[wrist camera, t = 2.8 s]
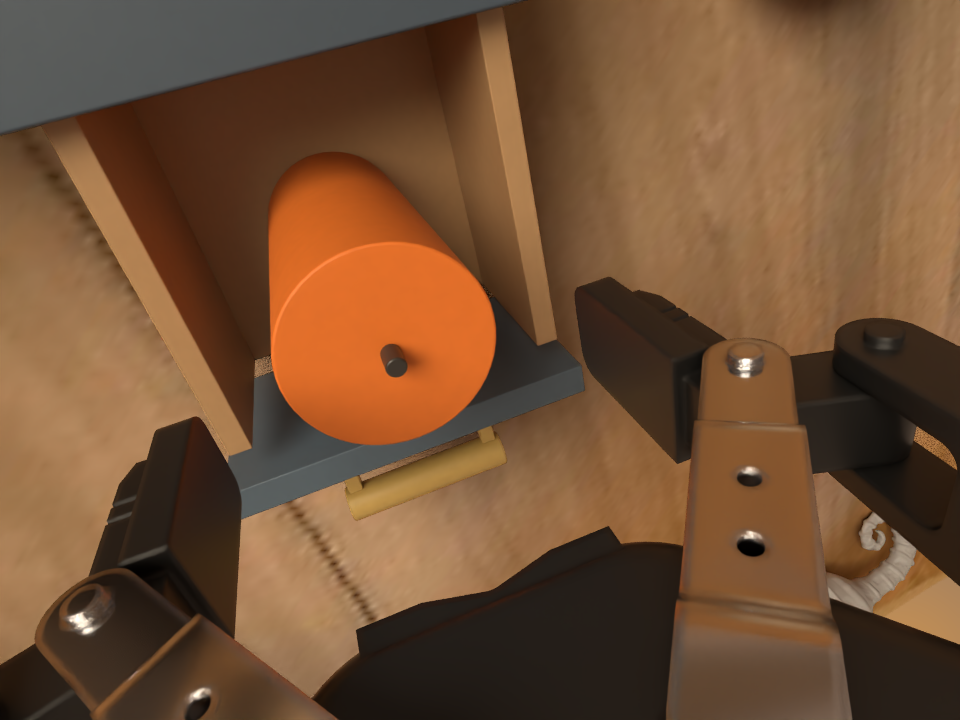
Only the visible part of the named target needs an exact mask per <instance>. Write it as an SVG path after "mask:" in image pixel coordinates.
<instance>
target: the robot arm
mask: <svg viewBox="0 0 960 720" xmlns="http://www.w3.org/2000/svg"><path fill="white" fill-rule="evenodd" d="M575 304H576V312H577V319H578V326H579V333H580V340H581V347H582V353H583V357H584V360H585V362H586V365H587V367H588V369H589V371H590V372H591V374H592V375H593V376H594V378H595V379H596V380H597V381H598V382H599V383H600V384H601V385H602V386H603V387H604V388H605V389H606V390H607V391H608V392H609V393H610V394H611V395H612V396H613V397H614V398H615V399H616V401H617V402H618V403H619V404H620V405H621V406H622V407H623V408H624V409H625V410H626V411H627V412H628V413H629V414H630V415H631V416H632V417H633V418H634V419H635V420H636V421H637V422H638V424H639V425H640V426H641V427H642V428H643V429H644V430H645V431H646V432H647V433H648V434H649V435H650V436H651V437H652V438H653V439H654V440H655V441H656V442H657V443H658V444H659V445H660V447H661V448H662V449H663V450H664V451H665V452H666V453H667V454H668V455H669V456H670V457H671V458H672V459H673V460H674V461H675V462H676V463H677V464H679V463H681V462H684V461H686V460H689V459H691V463H690V474H689V486H688V497H687V509H686V521H685V532H684V544H683V546H681V545H676V544H669V543H662V542H633V543H624V544H621V543H620V542H619V540H618V539H617V537H616V536H615V535H614V533H613V532H612V530H611V529H610V527H609V526H607V527H605V528H603V529H600V530H598V531H595V532H593V533H590V534H588V535H586V536H583V537H581V538H578V539H576V540H573V541H571V542H569V543H566V544H564V545H561V546H559V547H556V548H554V549H552V550H549V551H548V552H547V553H545V554H544V555H542V556H541V557H539V558H538V559H537V560H535V561H534V562H532V563H531V564H529V565H528V566H527V567H525V568H524V569H522V570H521V571H520V572H518V573H517V574H515V575H514V576H512V577H511V578H510V579H508V580H507V581H505V582H504V583H502V584H501V585H500V586H498V587H496V588H495V589H493V590H490V591H486V592H481V593H476V594H470V595H464V596H459V597H453V598H447V599H441V600H436V601H430V602H424V603H420V604H418V605H415V606H413V607H410V608H408V609H406V610H403V611H401V612H398V613H396V614H393V615H391V616H389V617H386V618H384V619H381V620H379V621H376V622H374V623H372V624H369V625H367V626H364V627H362V628H359V629H357V630H356V633H357V640H358V647H359V653H358V654H357V655H356V656H354V657H353V658H351V659H350V660H349V661H348V662H347V663H345V664H344V665H343V666H342V667H341V668H339V669H338V670H337V671H336V672H335V673H334V674H333V675H332V676H331V677H330V678H329V679H328V680H327V681H326V682H325V683H324V684H323V685H322V687H321V688H320V689H319V690H318V691H317V693H316V694H315V695H314V696H313V698H312V699H311V698H310V697H309V696H307V695H306V694H305V693H303V692H302V691H301V690H299V689H298V688H297V687H295V686H294V685H293V684H292V683H290V682H289V681H288V680H286V679H285V678H284V677H282V676H281V675H280V674H279V673H277V672H276V671H275V670H273V669H272V668H271V667H269V666H268V665H267V664H265V663H264V662H263V661H262V660H260V659H259V658H258V657H256V656H255V655H254V654H252V653H251V652H250V651H248V650H247V649H246V648H245V647H243V646H242V645H241V644H239V643H238V642H237V641H235V640H234V636H235V618H236V601H237V583H238V565H239V547H240V529H241V511H242V499H241V493H240V489H239V486H238V483H237V480H236V478H235V476H234V474H233V472H232V470H231V469H230V467H229V465H228V463H227V462H226V460H225V458H224V456H223V455H222V453H221V451H220V450H219V448H218V446H217V444H216V443H215V441H214V439H213V437H212V436H211V434H210V432H209V430H208V429H207V427H206V425H205V424H204V422H203V421H202V420H201V419H200V418H199V417H192V418H189V419H186V420H183V421H181V422H178V423H175V424H172V425H169V426H166V427H163V428H160V429H157V430H156V431H155V433H154V436H153V440H152V443H151V447H150V450H149V454H148V457H147V460H144V461H141V462H139V463H136V464H135V465H134V467H133V468H132V469H131V470H130V472H129V473H128V474H127V475H126V477H125V478H124V479H123V480H122V482H121V483H120V484H119V486H118V489H117V492H116V495H115V498H114V501H113V504H112V505H113V508H112V509H111V510H110V513H109V516H108V519H107V522H108V525H106V526H105V529H104V532H103V535H102V538H101V541H100V544H99V547H98V550H97V553H96V556H95V559H94V562H93V565H92V568H91V571H90V574H89V577H87V578H85V579H84V580H82V581H80V582H79V583H77V584H76V585H74V586H73V587H71V588H70V589H69V590H67V591H66V592H65V593H64V594H63V595H61V596H60V597H59V598H58V599H57V600H56V601H55V602H54V603H53V604H52V605H51V607H50V608H49V609H48V610H47V611H46V613H45V614H44V616H43V617H42V619H41V621H40V623H39V625H38V627H37V630H36V633H35V644H34V645H32V646H31V647H29V648H27V649H26V650H24V651H23V652H21V653H19V654H18V655H16V656H14V657H13V658H11V659H9V660H8V661H6V662H4V663H3V664H1V665H0V720H960V645H959V644H957V643H954V642H951V641H948V640H946V639H943V638H940V637H937V636H935V635H932V634H929V633H926V632H924V631H921V630H918V629H915V628H912V627H910V626H907V625H904V624H901V623H899V622H896V621H893V620H890V619H888V618H885V617H882V616H879V615H877V614H874V613H871V612H868V611H866V610H863V609H860V608H857V607H854V606H852V605H849V604H846V603H843V602H841V601H838V600H835V599H832V598H830V597H829V592H828V585H827V577H826V570H825V562H824V555H823V548H822V540H821V533H820V525H819V518H818V511H817V503H816V496H815V488H814V481H813V474H816V473H824V472H828V473H829V474H830V475H831V476H833V477H834V478H835V479H836V480H837V481H838V482H839V483H841V484H842V485H843V486H844V487H845V488H846V489H848V490H849V491H850V492H851V493H852V494H853V495H855V496H856V497H857V498H858V499H859V500H860V501H862V502H863V503H864V504H865V505H866V506H867V507H868V508H870V509H871V510H872V511H873V512H874V513H875V514H877V515H878V516H879V517H880V518H881V519H882V520H884V521H885V522H886V523H887V524H888V525H889V526H890V527H892V528H893V529H894V530H895V531H896V532H897V533H899V534H900V535H901V536H902V537H903V538H904V539H906V540H907V541H908V542H909V543H910V544H911V545H912V546H914V547H915V548H916V549H917V550H918V551H919V552H921V553H922V554H923V555H924V556H925V557H926V558H928V559H929V560H930V561H931V562H932V563H933V564H934V565H936V566H937V567H938V568H939V569H940V570H941V571H943V572H944V573H945V574H946V575H947V576H948V577H950V578H951V579H952V580H953V581H954V582H955V583H957V584H958V585H959V586H960V347H959V346H957V345H955V344H953V343H951V342H949V341H947V340H945V339H943V338H941V337H939V336H937V335H935V334H933V333H931V332H929V331H927V330H925V329H923V328H921V327H919V326H916V325H914V324H911V323H908V322H905V321H900V320H895V319H886V318H869V319H861V320H856V321H852V322H849V323H847V324H845V325H843V326H842V327H840V328H839V329H838V330H837V332H836V334H835V341H834V349H833V351H826V352H819V353H812V354H805V355H798V356H789V354H788V353H787V352H786V351H785V350H784V349H783V348H782V347H780V346H779V345H777V344H774V343H772V342H769V341H766V340H761V339H755V338H736V339H729V340H727V339H725V338H724V337H722V336H721V335H719V334H718V333H716V332H715V331H713V330H712V329H710V328H709V327H707V326H706V325H704V324H703V323H701V322H699V321H698V320H696V319H695V318H693V317H692V316H690V317H689V316H688V314H687V313H686V312H684V311H683V310H681V309H680V308H676V306H675V305H674V304H672V303H671V302H669V301H668V300H666V299H665V298H663V297H662V296H660V295H656V294H652V293H648V292H644V291H641V290H637V291H634V292H632V291H630V290H629V289H627V288H626V287H624V286H623V285H622V284H620V283H619V282H617V281H616V280H615V279H613V278H611V277H607V278H604V279H601V280H598V281H595V282H592V283H589V284H586V285H583V286H580V287H577V288H576V290H575ZM917 426H918V427H919V428H921V429H922V430H924V431H925V432H927V433H928V434H930V435H931V436H933V437H934V438H936V439H937V440H939V441H940V442H941V443H943V444H944V445H945V446H946V447H947V448H948V449H949V451H950V452H951V453H952V455H953V457H954V459H955V461H956V464H957V470H956V469H954V468H953V467H951V466H950V465H948V464H947V463H945V462H944V461H942V460H941V459H940V458H938V457H937V456H935V455H934V454H932V453H931V452H929V451H928V450H926V449H925V448H924V447H922V446H921V445H919V444H918V443H916V442H915V441H913V440H914V436H915V431H916V427H917Z"/></svg>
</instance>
